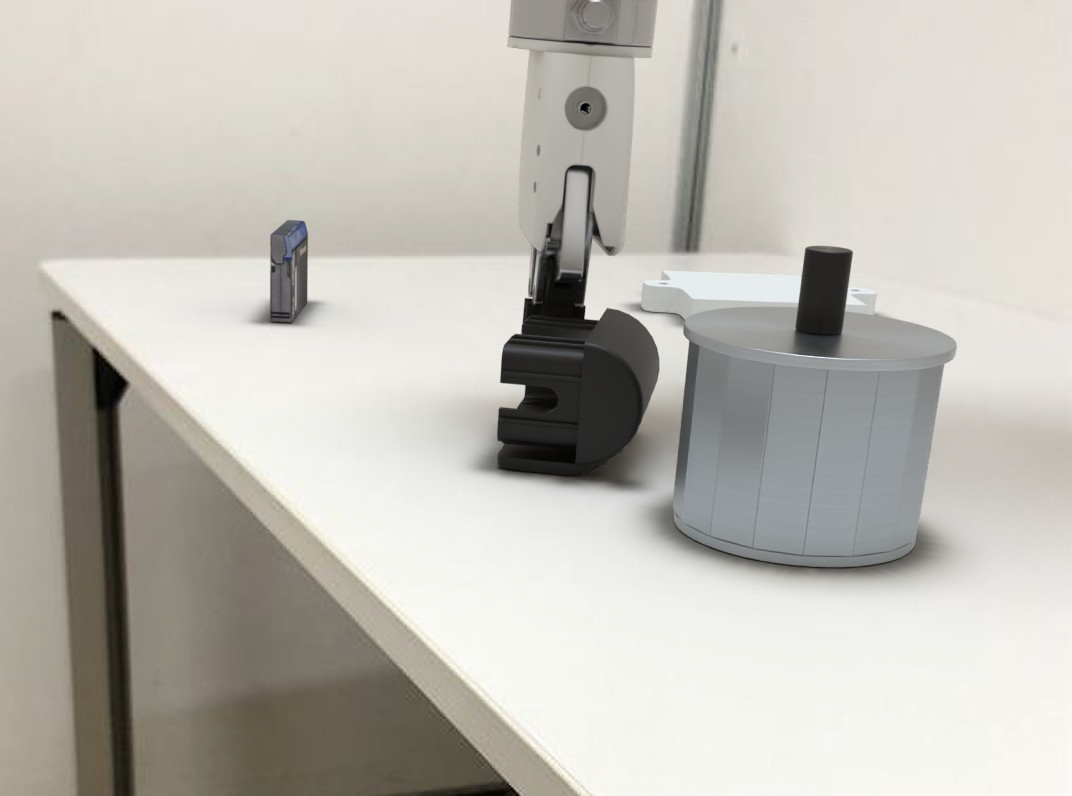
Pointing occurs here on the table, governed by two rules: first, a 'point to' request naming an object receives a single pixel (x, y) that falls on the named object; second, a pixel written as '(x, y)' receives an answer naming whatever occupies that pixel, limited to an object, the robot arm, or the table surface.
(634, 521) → the table surface
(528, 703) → the table surface
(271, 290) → the mini dv tape
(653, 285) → the mounting plate
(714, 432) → the pot
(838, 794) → the table surface
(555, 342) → the end cap
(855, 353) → the pot lid
